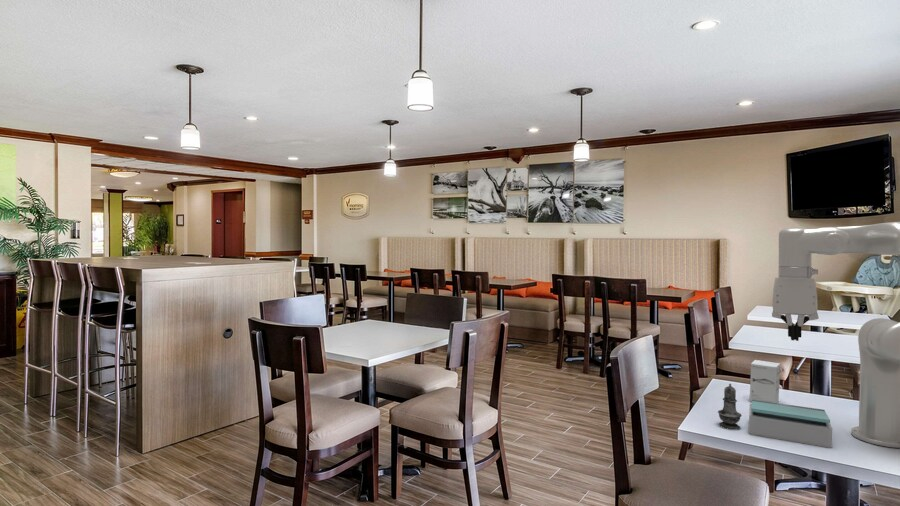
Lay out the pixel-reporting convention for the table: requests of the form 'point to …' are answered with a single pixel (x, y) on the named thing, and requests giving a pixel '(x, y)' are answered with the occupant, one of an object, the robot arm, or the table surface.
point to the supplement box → (764, 381)
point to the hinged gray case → (790, 429)
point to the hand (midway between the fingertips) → (794, 339)
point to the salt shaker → (729, 409)
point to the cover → (790, 411)
